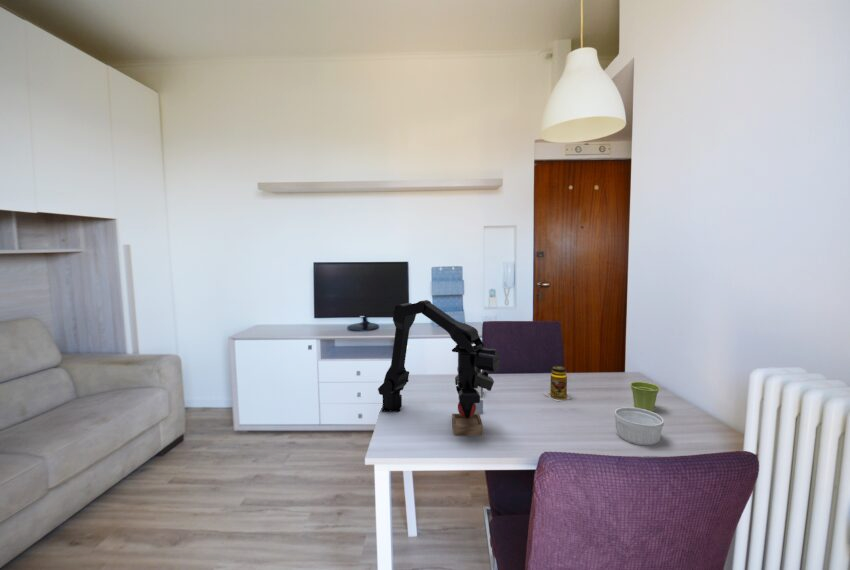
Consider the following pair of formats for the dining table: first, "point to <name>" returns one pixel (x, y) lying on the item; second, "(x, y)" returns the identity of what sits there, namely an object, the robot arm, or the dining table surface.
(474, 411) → the onion
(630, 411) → the ramekin
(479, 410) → the slate cube
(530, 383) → the dining table surface
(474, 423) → the wooden square tray
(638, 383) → the plant pot
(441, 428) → the dining table surface
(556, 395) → the condiment
